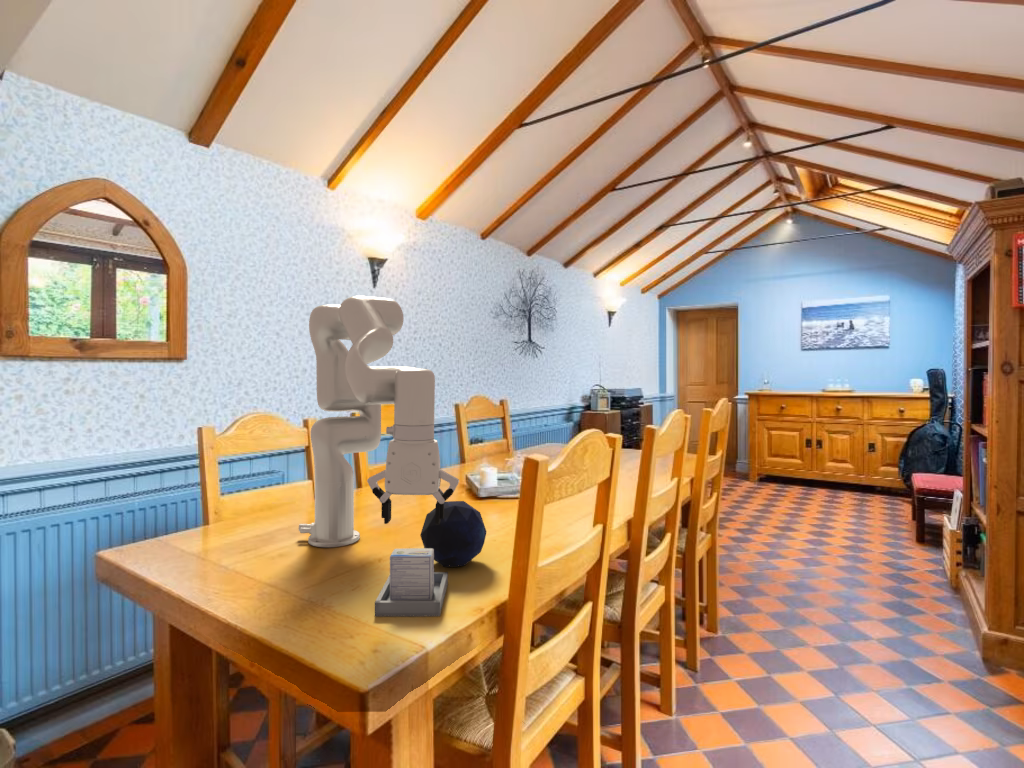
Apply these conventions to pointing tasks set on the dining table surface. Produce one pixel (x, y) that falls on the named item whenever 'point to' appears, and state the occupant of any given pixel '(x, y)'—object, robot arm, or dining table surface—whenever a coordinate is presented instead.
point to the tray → (413, 606)
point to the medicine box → (412, 574)
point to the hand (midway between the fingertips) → (412, 522)
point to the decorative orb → (454, 534)
